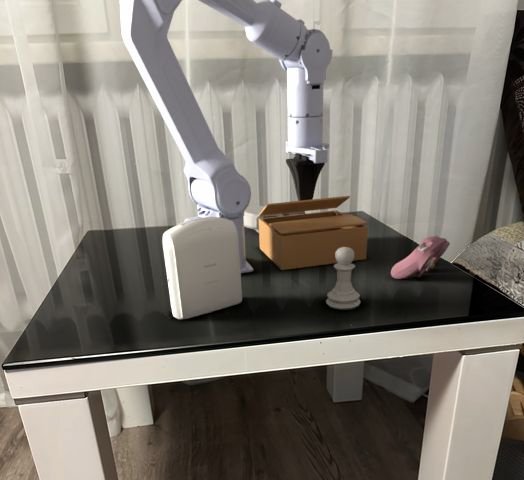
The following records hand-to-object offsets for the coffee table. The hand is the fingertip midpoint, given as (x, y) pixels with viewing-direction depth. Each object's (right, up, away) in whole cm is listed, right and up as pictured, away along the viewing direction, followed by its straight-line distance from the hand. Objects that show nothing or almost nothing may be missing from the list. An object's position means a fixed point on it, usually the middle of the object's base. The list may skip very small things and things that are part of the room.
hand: (305, 201), depth 93 cm
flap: (0, -1, +1) cm, 1 cm away
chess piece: (+4, -19, -19) cm, 28 cm away
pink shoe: (+17, -14, -9) cm, 24 cm away
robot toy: (-5, -1, +18) cm, 18 cm away
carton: (+1, -9, +1) cm, 9 cm away
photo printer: (-15, -20, -19) cm, 32 cm away
